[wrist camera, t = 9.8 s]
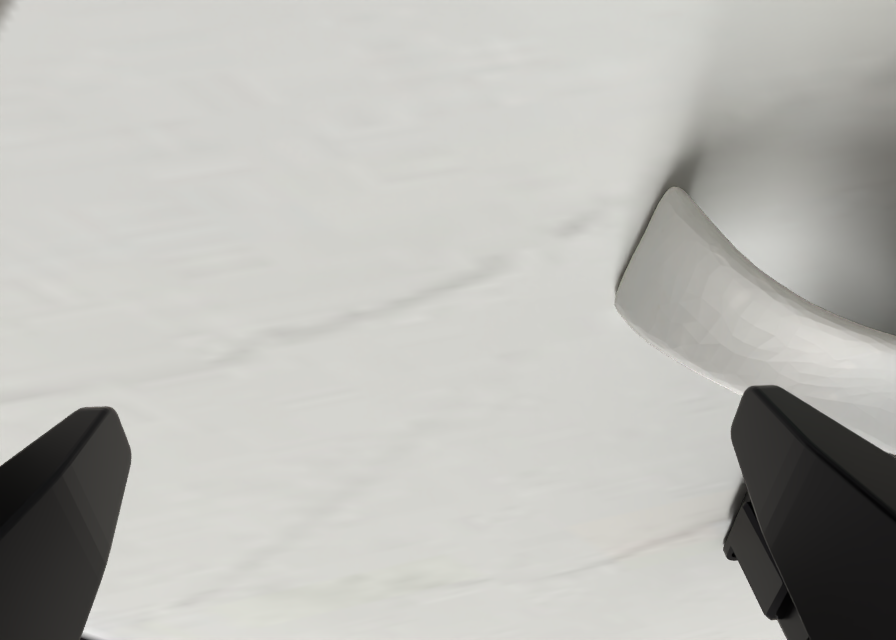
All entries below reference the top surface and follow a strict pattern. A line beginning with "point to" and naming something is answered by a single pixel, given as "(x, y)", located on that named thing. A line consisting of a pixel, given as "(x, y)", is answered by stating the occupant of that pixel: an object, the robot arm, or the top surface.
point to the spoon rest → (752, 324)
